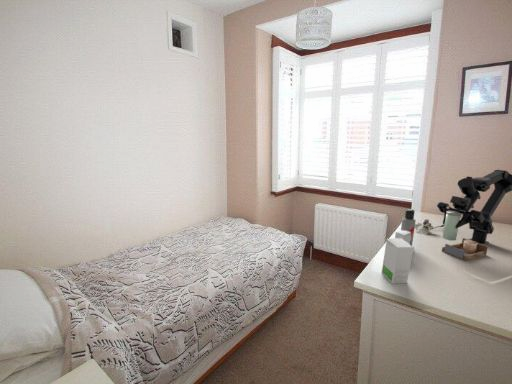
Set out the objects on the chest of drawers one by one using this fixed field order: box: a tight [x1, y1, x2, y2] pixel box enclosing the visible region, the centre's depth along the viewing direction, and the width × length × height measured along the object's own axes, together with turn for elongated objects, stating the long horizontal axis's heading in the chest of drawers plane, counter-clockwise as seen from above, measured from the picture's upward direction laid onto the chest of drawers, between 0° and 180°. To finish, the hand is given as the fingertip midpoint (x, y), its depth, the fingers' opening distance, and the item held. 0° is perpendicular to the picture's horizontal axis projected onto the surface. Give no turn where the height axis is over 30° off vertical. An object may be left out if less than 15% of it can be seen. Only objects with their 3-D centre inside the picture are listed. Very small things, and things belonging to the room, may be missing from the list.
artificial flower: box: [414, 218, 445, 235], centre depth 158 cm, size 9×22×10 cm, turn 101°
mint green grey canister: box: [442, 211, 462, 241], centre depth 130 cm, size 6×6×13 cm
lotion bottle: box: [400, 208, 417, 247], centre depth 135 cm, size 6×6×20 cm
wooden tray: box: [441, 237, 489, 262], centre depth 129 cm, size 15×11×5 cm
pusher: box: [443, 243, 465, 260], centre depth 127 cm, size 1×8×4 cm, turn 22°
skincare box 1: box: [394, 229, 411, 244], centre depth 126 cm, size 6×4×12 cm
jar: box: [462, 239, 478, 254], centre depth 131 cm, size 5×5×5 cm
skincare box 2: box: [381, 237, 414, 285], centre depth 108 cm, size 8×7×16 cm
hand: (449, 225), depth 129 cm, fingers closed on mint green grey canister, 5 cm apart
